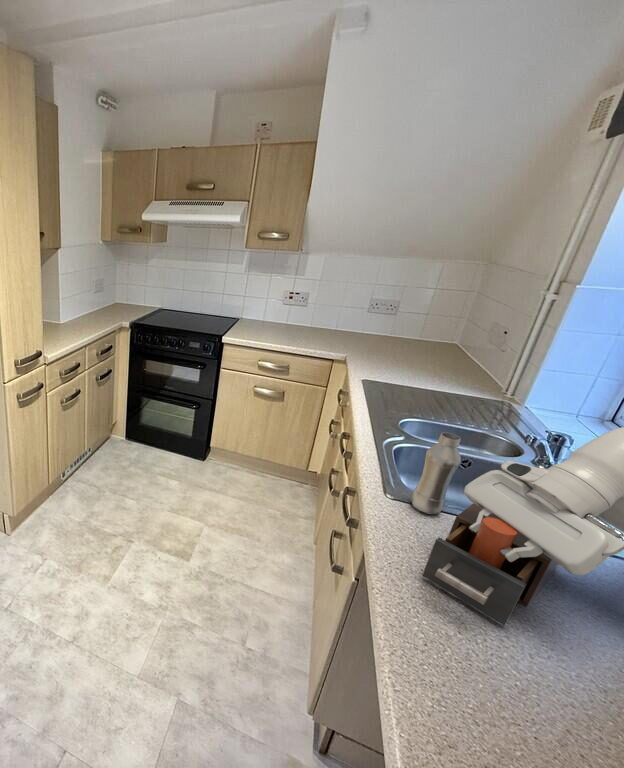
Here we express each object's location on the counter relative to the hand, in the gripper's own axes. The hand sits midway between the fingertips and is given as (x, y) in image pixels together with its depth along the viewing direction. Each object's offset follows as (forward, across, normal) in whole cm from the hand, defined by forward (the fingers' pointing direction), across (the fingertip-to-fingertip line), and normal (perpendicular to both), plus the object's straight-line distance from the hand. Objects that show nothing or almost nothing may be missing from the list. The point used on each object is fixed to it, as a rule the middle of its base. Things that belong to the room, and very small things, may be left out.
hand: (488, 544), depth 74 cm
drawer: (+7, 0, -7) cm, 10 cm away
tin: (+3, 0, -4) cm, 5 cm away
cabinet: (0, +6, -16) cm, 17 cm away
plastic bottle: (+1, +23, -15) cm, 28 cm away
